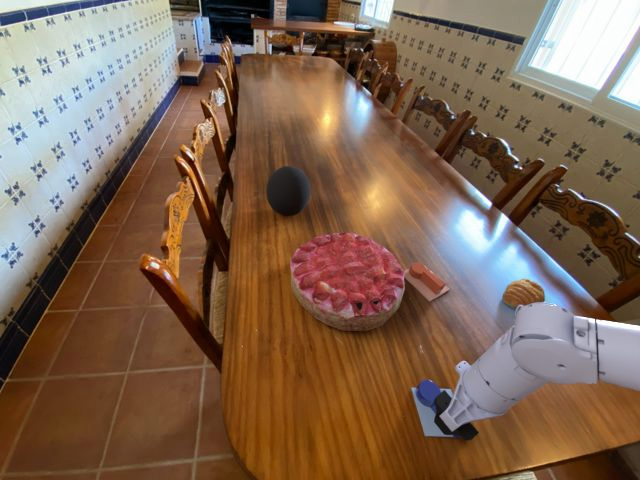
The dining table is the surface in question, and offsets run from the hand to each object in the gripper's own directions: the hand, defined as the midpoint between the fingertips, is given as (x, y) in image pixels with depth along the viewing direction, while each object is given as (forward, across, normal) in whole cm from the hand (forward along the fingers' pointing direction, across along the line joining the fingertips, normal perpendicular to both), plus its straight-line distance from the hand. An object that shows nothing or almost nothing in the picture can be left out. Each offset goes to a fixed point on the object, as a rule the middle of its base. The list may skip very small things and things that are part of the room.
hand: (456, 412), depth 46 cm
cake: (+4, -2, -30) cm, 30 cm away
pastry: (+4, -37, -8) cm, 38 cm away
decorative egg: (+4, -3, -59) cm, 59 cm away
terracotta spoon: (+4, -20, -22) cm, 30 cm away
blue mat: (+4, 0, -2) cm, 4 cm away
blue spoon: (+4, 0, -2) cm, 4 cm away
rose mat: (+4, -20, -22) cm, 30 cm away
